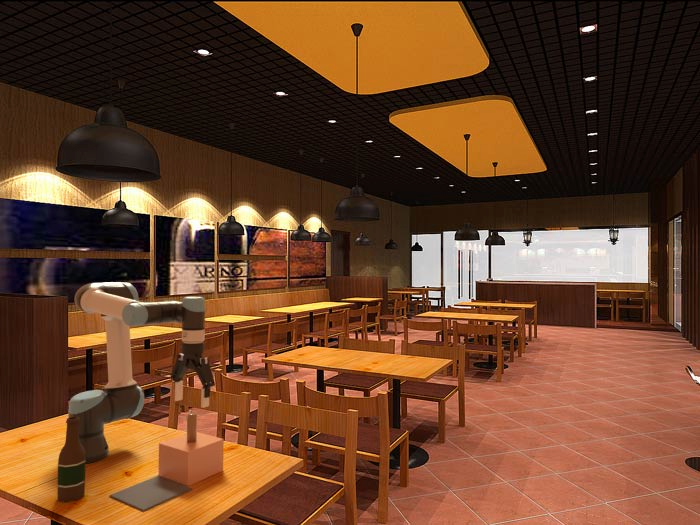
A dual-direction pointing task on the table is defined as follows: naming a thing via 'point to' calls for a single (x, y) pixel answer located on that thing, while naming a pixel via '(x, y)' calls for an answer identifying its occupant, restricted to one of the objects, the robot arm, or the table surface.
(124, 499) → the mat
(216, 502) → the table surface
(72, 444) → the beer bottle
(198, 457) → the pink box with peg
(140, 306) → the robot arm
